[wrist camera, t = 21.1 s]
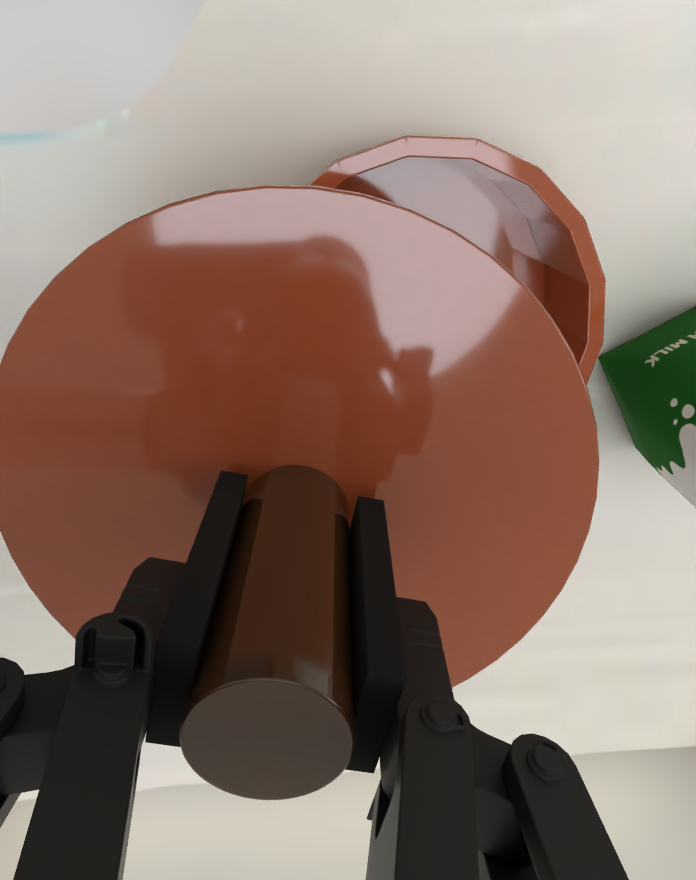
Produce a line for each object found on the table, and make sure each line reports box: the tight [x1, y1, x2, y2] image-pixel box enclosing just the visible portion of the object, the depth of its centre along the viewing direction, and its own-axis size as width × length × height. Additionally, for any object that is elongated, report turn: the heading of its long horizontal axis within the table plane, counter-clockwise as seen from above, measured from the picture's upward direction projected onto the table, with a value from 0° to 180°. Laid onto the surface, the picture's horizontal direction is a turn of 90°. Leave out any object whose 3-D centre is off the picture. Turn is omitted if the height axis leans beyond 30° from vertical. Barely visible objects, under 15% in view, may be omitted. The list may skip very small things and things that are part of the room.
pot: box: [307, 136, 606, 385], centre depth 32 cm, size 17×17×7 cm
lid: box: [0, 185, 599, 800], centre depth 15 cm, size 18×18×9 cm
